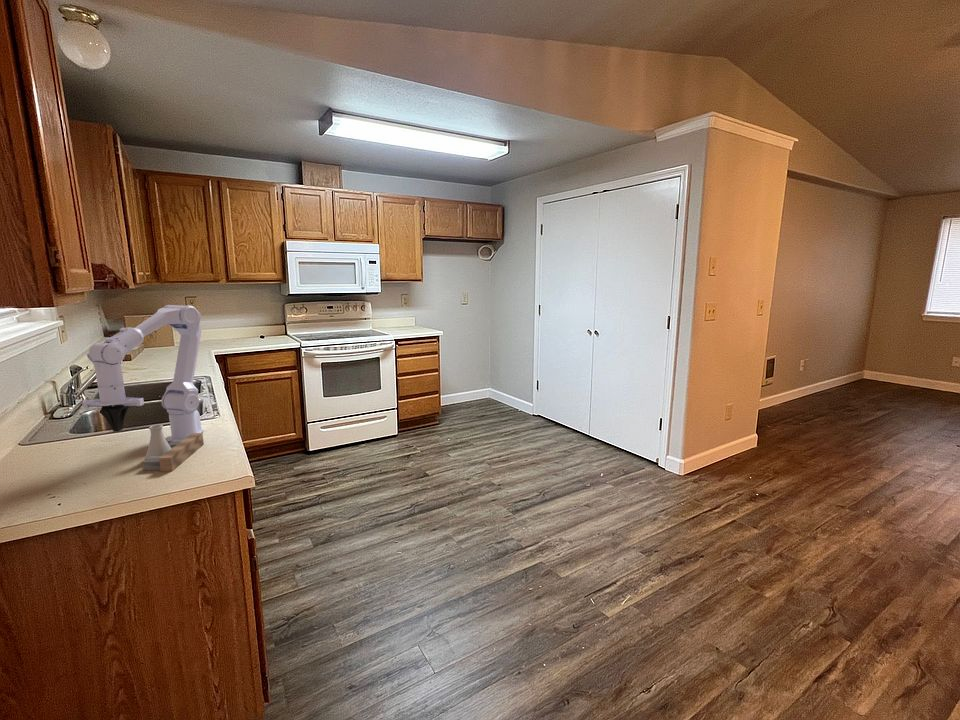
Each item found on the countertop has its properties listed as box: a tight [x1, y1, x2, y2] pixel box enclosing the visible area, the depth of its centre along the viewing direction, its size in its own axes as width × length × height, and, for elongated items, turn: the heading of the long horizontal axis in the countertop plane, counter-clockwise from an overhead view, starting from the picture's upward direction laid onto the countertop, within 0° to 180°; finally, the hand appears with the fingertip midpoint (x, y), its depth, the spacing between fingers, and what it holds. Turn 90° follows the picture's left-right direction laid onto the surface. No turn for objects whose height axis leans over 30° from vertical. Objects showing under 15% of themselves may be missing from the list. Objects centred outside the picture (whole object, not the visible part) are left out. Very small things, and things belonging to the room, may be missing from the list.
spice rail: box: [142, 432, 205, 473], centre depth 133 cm, size 20×8×4 cm, turn 10°
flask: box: [143, 424, 172, 462], centre depth 132 cm, size 7×7×10 cm
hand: (117, 430), depth 129 cm, fingers closed
